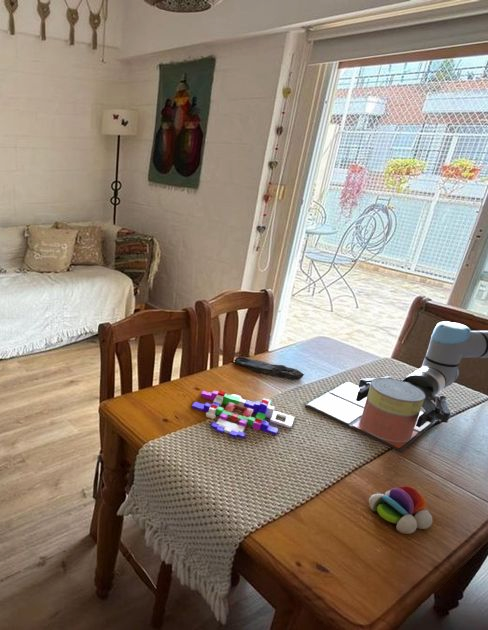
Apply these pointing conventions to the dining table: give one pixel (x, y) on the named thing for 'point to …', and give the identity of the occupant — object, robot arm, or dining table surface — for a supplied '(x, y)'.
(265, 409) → the building block set
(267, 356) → the dining table surface
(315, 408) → the board
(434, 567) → the dining table surface
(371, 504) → the rainbow cloud toy
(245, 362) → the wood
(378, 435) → the canned food
